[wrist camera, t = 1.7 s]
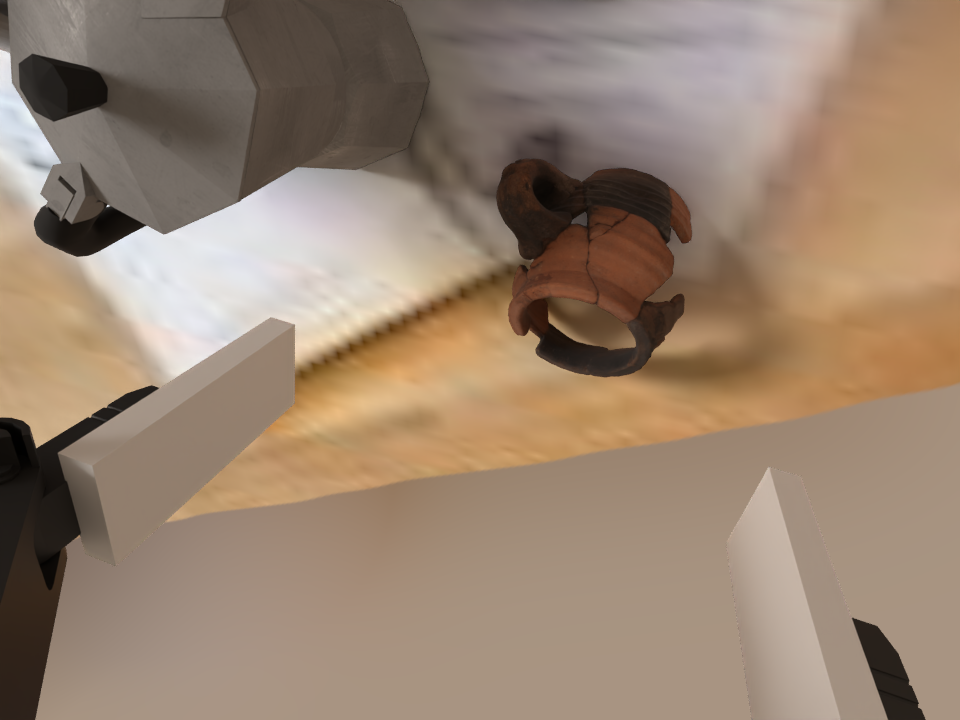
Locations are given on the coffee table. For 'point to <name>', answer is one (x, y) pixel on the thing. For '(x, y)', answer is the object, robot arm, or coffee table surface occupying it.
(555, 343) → the pottery mug
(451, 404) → the coffee table surface
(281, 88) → the coffeepot
